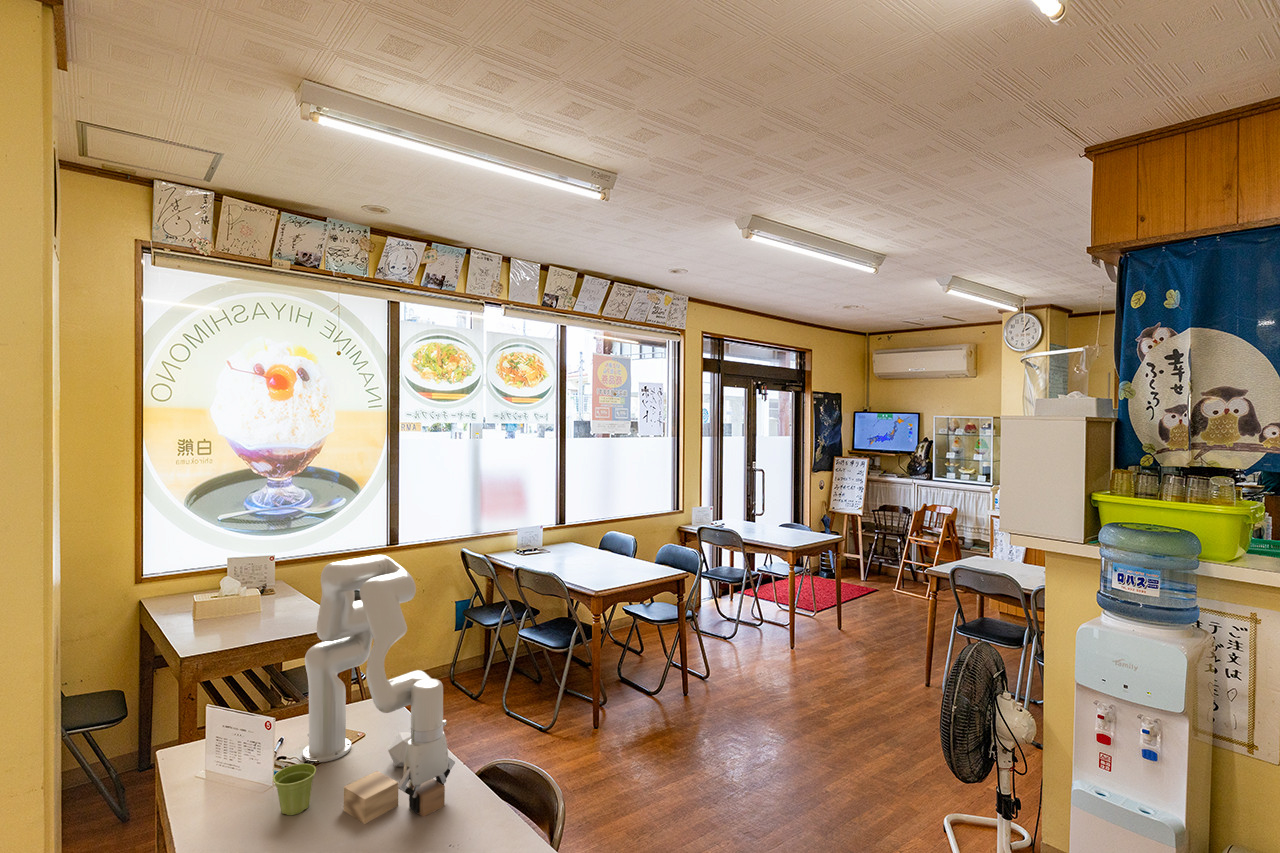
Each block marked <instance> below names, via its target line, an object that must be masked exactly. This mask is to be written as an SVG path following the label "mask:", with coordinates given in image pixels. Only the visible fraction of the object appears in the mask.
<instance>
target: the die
mask: <svg viewBox="0 0 1280 853" xmlns="http://www.w3.org/2000/svg"><path fill="white" fill-rule="evenodd" d="M410 739H411V731H410V732H408V731H407V732H406V731H405V732H403V731H402V732H401V731H400V732H398V734H397V735H396V737H395V738H394V740H393V741H392V743H391V745H390V746H389V748H388V751H387V752H388V753H389V755H390V759H391V761H392V762H393V764H394V766H395V767H404V759H405V752H406V747H407V743H408V740H410Z"/></svg>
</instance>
